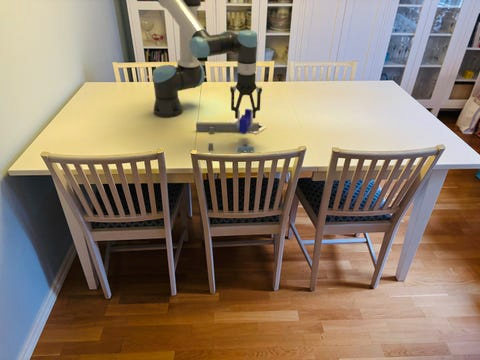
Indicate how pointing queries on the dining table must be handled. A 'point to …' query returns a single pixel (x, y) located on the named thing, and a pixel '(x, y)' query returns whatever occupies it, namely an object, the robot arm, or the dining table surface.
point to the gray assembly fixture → (225, 127)
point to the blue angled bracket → (245, 121)
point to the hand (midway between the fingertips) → (244, 124)
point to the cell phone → (252, 131)
